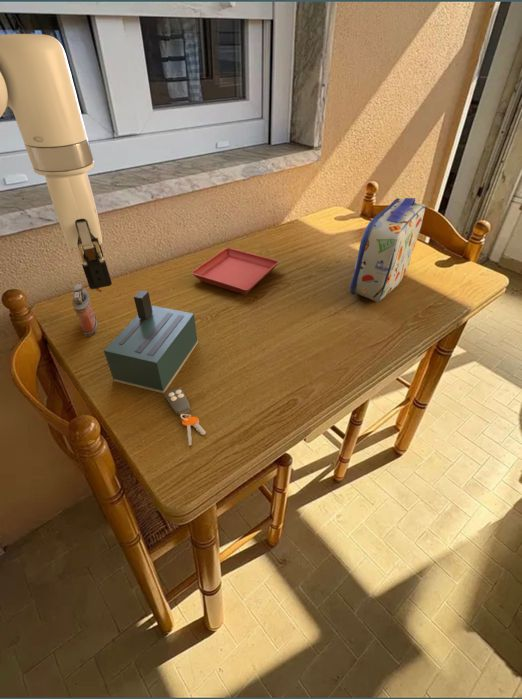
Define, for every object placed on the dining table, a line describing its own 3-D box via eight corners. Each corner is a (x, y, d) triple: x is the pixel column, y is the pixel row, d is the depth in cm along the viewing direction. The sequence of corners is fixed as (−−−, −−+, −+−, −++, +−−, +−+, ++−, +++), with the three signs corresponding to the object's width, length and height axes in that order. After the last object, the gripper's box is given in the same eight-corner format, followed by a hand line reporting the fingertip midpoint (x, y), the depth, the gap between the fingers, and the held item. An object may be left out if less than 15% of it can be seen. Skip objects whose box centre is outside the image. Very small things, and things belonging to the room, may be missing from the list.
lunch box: (377, 259, 116) (394, 184, 102) (411, 268, 112) (434, 191, 98) (343, 301, 98) (358, 217, 84) (382, 313, 94) (405, 228, 80)
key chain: (163, 397, 73) (162, 392, 72) (181, 390, 74) (180, 384, 73) (189, 447, 64) (188, 442, 63) (209, 438, 66) (209, 432, 65)
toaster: (113, 381, 76) (102, 350, 70) (153, 333, 87) (146, 303, 82) (163, 393, 73) (156, 362, 68) (198, 342, 85) (194, 312, 80)
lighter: (83, 317, 92) (69, 281, 85) (97, 315, 92) (86, 278, 86) (81, 337, 86) (67, 300, 79) (97, 334, 87) (84, 297, 80)
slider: (138, 318, 78) (133, 296, 74) (145, 311, 80) (140, 290, 76) (146, 320, 77) (141, 298, 74) (152, 312, 79) (148, 291, 76)
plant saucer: (191, 282, 104) (189, 271, 102) (227, 256, 116) (226, 246, 114) (247, 301, 98) (247, 290, 96) (279, 271, 110) (280, 261, 108)
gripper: (30, 143, 55) (68, 253, 66) (29, 178, 43) (76, 305, 54) (85, 139, 57) (113, 245, 68) (99, 171, 45) (130, 293, 56)
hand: (97, 271), depth 61 cm, fingers open, 9 cm apart
